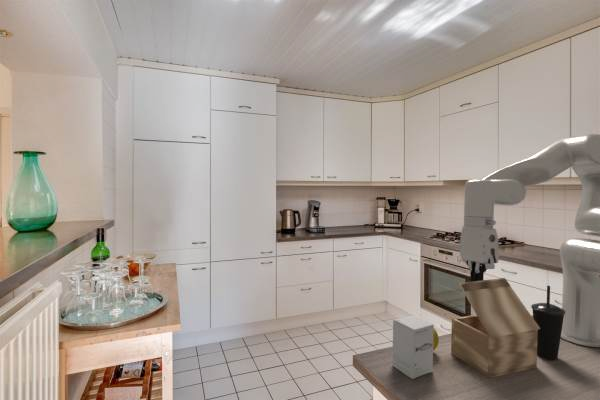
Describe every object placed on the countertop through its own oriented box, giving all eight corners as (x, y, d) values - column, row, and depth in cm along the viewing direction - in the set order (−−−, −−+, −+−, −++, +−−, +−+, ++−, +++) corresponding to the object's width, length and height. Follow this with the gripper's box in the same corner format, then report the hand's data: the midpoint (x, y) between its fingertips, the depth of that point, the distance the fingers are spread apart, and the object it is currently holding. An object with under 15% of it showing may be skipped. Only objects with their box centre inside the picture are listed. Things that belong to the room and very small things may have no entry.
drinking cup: (527, 356, 91) (529, 286, 91) (532, 346, 97) (534, 280, 96) (562, 366, 86) (565, 292, 85) (565, 355, 92) (567, 285, 91)
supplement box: (412, 380, 80) (413, 329, 79) (391, 365, 86) (392, 318, 86) (433, 372, 83) (434, 324, 83) (411, 359, 90) (412, 314, 89)
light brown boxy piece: (493, 344, 98) (494, 311, 98) (536, 366, 86) (537, 329, 85) (451, 352, 93) (451, 318, 93) (490, 377, 81) (491, 338, 80)
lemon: (440, 357, 90) (440, 329, 90) (419, 355, 91) (419, 327, 91) (436, 348, 96) (436, 321, 95) (416, 346, 97) (416, 320, 97)
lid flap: (503, 278, 95) (504, 277, 95) (538, 329, 86) (540, 328, 85) (458, 284, 90) (460, 282, 89) (490, 338, 80) (492, 337, 80)
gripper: (512, 225, 87) (509, 292, 88) (468, 219, 102) (466, 277, 102) (490, 225, 85) (488, 294, 86) (448, 220, 100) (447, 279, 100)
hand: (476, 285), depth 94 cm, fingers closed
